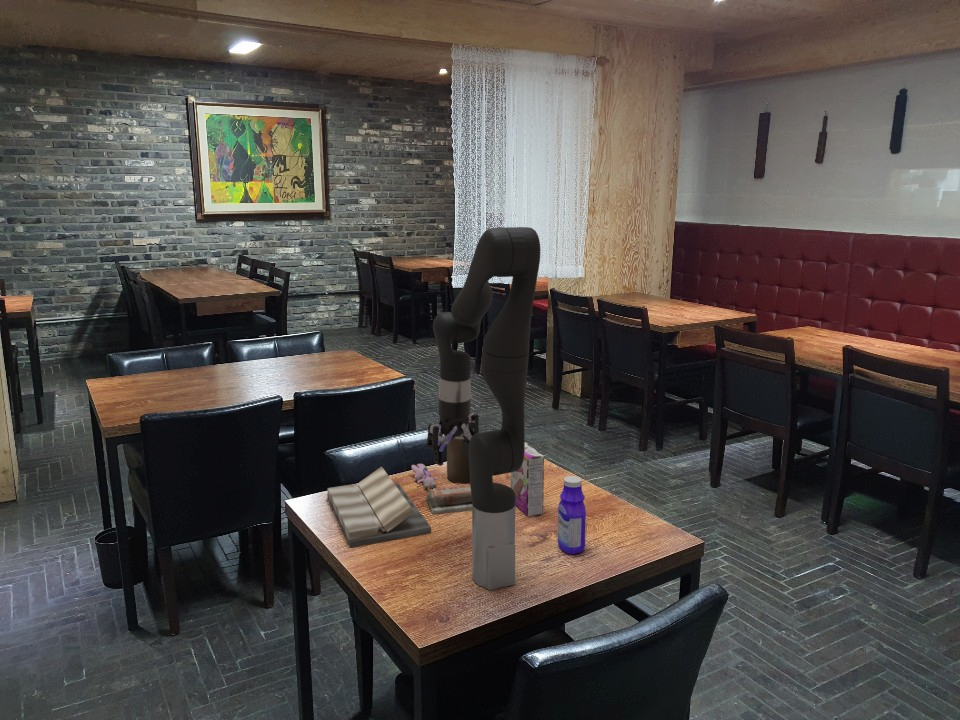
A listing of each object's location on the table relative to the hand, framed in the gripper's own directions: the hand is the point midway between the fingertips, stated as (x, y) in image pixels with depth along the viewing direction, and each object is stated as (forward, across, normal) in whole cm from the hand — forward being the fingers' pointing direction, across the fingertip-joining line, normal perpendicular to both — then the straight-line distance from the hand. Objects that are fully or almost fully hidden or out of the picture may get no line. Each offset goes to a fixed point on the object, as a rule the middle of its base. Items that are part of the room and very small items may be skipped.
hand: (452, 459), depth 167 cm
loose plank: (+17, -6, +20) cm, 27 cm away
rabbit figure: (+22, +15, +29) cm, 39 cm away
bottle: (+18, +15, -26) cm, 35 cm away
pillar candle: (+22, +26, +24) cm, 41 cm away
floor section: (+21, -8, +21) cm, 30 cm away
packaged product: (+21, +13, +10) cm, 27 cm away
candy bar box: (+20, +24, -3) cm, 31 cm away
